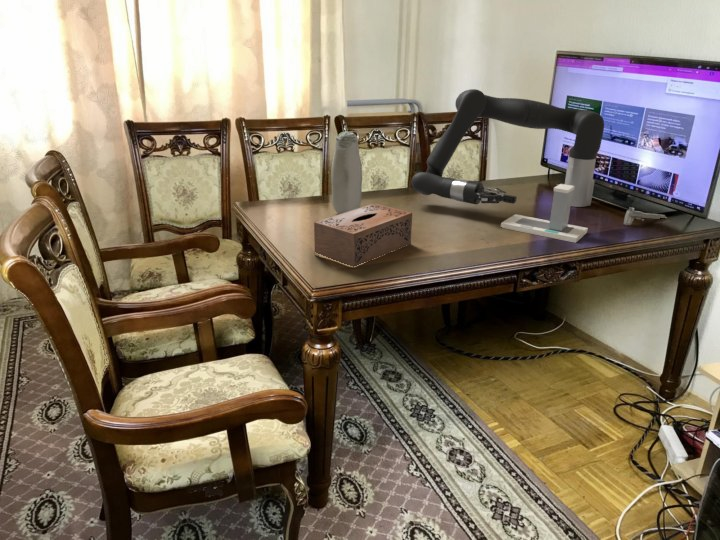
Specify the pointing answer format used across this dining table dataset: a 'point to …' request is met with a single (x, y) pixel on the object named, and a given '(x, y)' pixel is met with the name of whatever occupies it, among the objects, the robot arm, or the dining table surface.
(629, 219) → the caliper
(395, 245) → the tissue box cover
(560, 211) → the switch tab
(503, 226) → the switch panel
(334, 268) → the dining table surface
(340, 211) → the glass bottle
